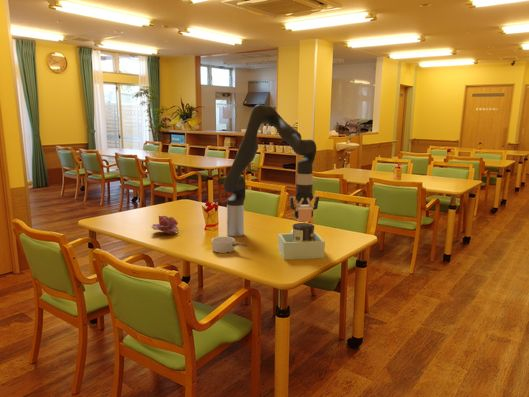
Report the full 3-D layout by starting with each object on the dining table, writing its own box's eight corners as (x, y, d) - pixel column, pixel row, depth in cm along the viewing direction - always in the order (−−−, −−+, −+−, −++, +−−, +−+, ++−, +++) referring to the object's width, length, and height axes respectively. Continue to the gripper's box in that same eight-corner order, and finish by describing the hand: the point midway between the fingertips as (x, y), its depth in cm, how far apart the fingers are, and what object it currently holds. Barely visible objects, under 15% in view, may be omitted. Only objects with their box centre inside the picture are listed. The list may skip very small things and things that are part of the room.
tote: (283, 259, 190) (284, 242, 188) (278, 249, 205) (278, 233, 203) (324, 258, 193) (324, 241, 191) (315, 247, 208) (316, 232, 206)
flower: (149, 232, 223) (154, 214, 223) (151, 229, 237) (155, 212, 237) (176, 239, 226) (181, 221, 226) (176, 235, 240) (181, 218, 240)
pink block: (298, 221, 192) (298, 207, 190) (295, 218, 198) (295, 205, 197) (311, 221, 193) (312, 207, 191) (308, 218, 199) (308, 204, 198)
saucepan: (239, 259, 190) (239, 247, 189) (206, 251, 201) (206, 240, 200) (253, 252, 200) (253, 241, 198) (221, 245, 210) (221, 235, 209)
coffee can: (314, 251, 202) (315, 223, 200) (312, 258, 192) (313, 228, 190) (293, 249, 204) (294, 222, 202) (290, 256, 194) (291, 227, 192)
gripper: (290, 184, 187) (290, 220, 191) (321, 184, 189) (320, 219, 192) (287, 182, 195) (287, 216, 198) (317, 181, 197) (316, 216, 200)
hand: (303, 218), depth 195 cm, fingers closed on pink block, 6 cm apart
